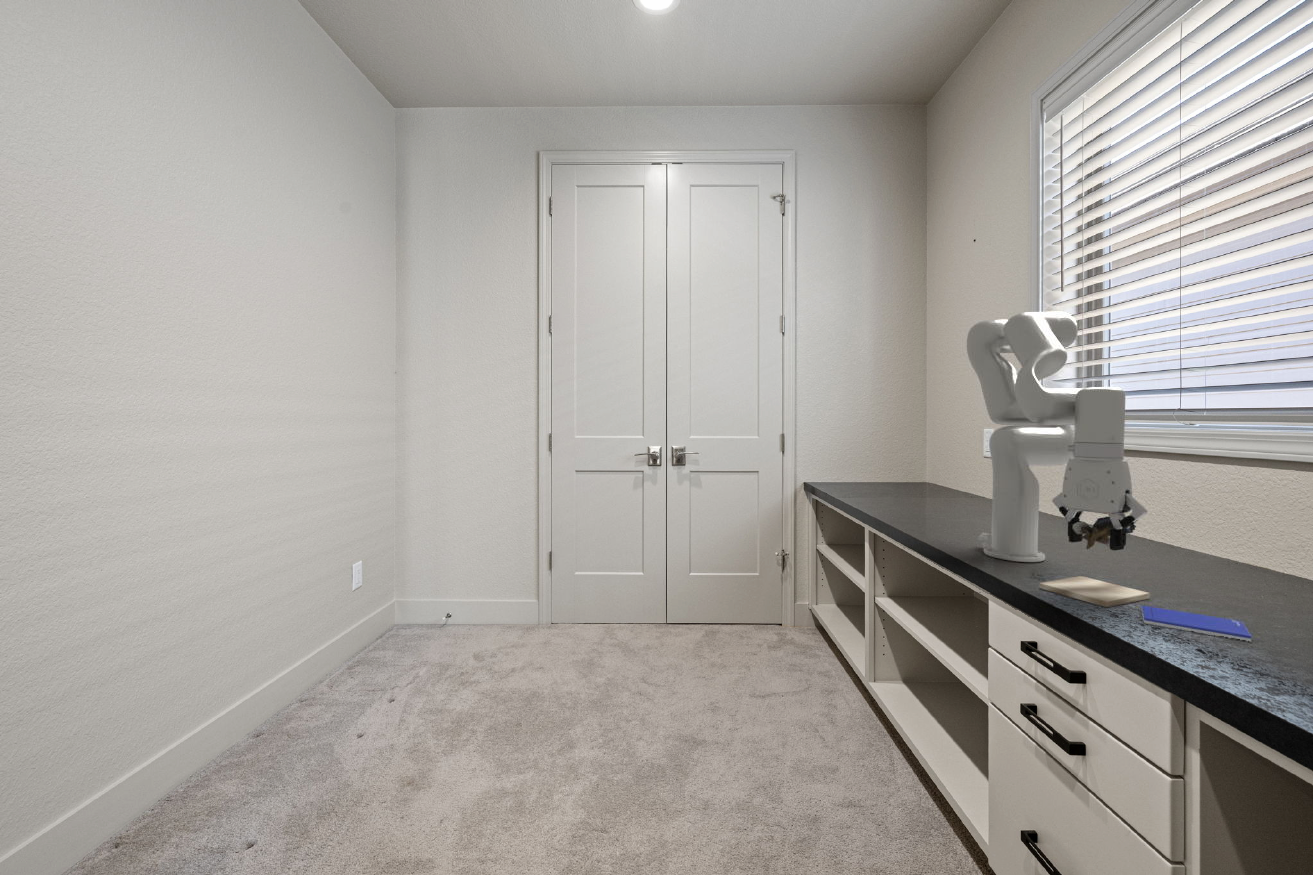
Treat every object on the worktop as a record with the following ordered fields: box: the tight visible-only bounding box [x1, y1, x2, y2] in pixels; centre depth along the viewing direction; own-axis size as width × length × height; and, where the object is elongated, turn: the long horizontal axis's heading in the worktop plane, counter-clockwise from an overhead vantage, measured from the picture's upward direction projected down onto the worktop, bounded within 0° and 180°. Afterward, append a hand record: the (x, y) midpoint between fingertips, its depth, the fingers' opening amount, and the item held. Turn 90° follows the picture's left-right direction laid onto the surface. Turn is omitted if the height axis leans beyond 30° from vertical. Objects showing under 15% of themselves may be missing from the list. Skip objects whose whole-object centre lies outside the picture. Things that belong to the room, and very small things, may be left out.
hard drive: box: [1140, 605, 1253, 643], centre depth 93 cm, size 2×8×12 cm
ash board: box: [1038, 575, 1151, 608], centre depth 109 cm, size 12×13×1 cm
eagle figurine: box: [1073, 515, 1137, 551], centre depth 109 cm, size 8×7×9 cm
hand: (1095, 544), depth 108 cm, fingers closed on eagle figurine, 6 cm apart
